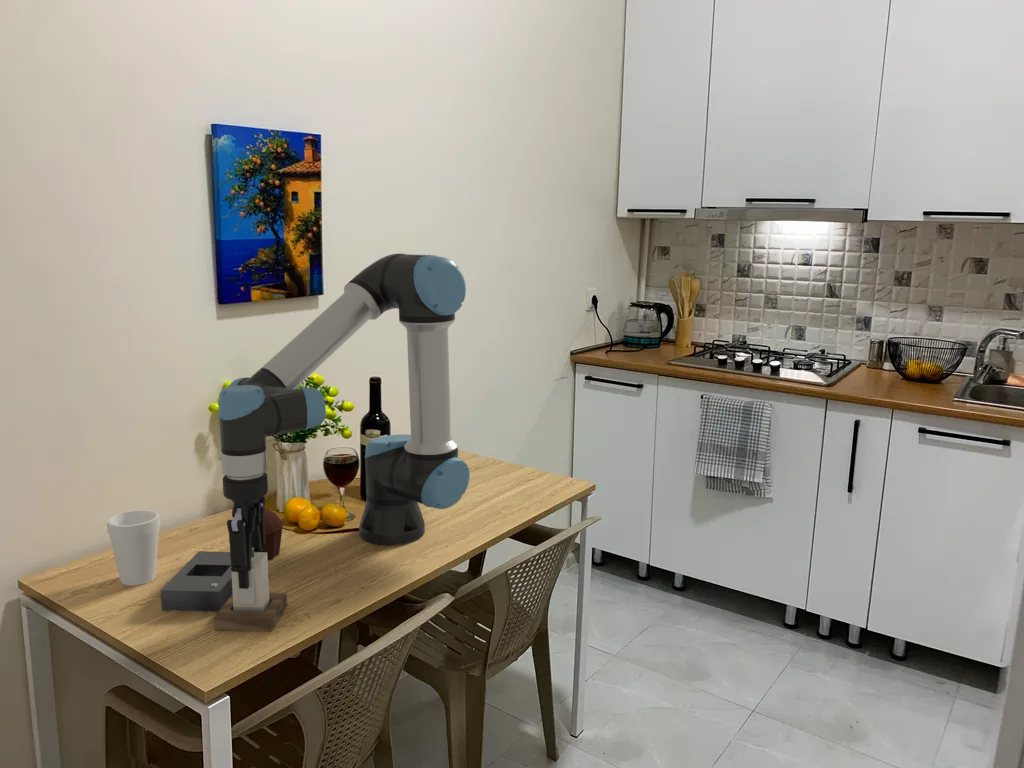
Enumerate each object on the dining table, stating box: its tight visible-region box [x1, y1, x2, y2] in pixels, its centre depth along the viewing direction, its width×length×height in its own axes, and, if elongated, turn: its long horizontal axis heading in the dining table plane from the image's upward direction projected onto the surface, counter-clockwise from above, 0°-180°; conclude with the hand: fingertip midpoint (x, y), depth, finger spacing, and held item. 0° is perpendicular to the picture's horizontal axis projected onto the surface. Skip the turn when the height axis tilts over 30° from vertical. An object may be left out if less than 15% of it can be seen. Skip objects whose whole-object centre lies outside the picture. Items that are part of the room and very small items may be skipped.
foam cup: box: [106, 509, 161, 587], centre depth 162 cm, size 10×9×13 cm
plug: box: [231, 547, 270, 611], centre depth 147 cm, size 4×5×14 cm, turn 89°
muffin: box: [263, 508, 285, 561], centre depth 175 cm, size 12×11×10 cm
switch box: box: [160, 551, 233, 613], centre depth 159 cm, size 18×11×4 cm, turn 179°
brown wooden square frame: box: [213, 592, 288, 633], centre depth 148 cm, size 10×10×2 cm
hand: (251, 596), depth 147 cm, fingers open, 4 cm apart
